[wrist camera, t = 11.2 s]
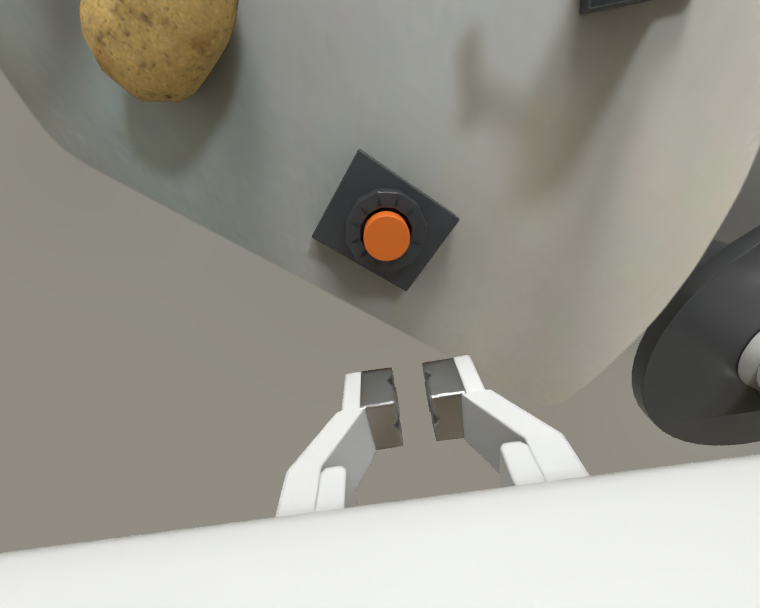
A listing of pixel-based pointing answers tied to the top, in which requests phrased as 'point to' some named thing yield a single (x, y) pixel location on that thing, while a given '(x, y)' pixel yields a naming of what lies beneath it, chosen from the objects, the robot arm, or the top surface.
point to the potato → (158, 43)
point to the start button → (386, 236)
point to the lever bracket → (603, 5)
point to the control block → (375, 194)
